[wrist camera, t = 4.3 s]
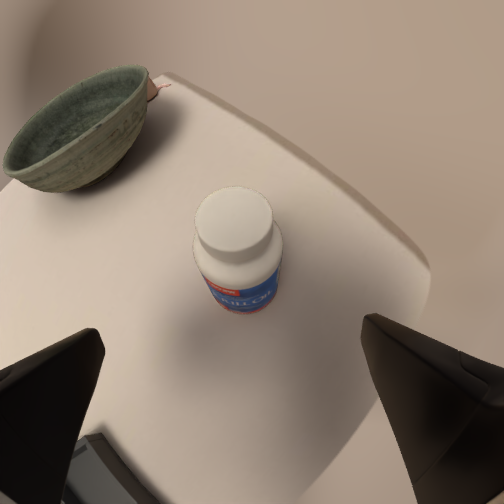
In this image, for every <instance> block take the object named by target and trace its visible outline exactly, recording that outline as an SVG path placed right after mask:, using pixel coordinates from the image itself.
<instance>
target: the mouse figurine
mask: <svg viewBox="0 0 504 504" xmlns="http://www.w3.org/2000/svg"><path fill="white" fill-rule="evenodd" d="M170 85H171V84H161V85H159V86H157V87H156V86H155V84H154V83H153V81H152V80H151V79H150V78H149V76H148V82H147V90H148V92H147V101H149V100H150V99H152V98H153V97H154V96H155V95H156V94H157V91H158V90H159V89H160V88H162V87H167V86H170Z"/></svg>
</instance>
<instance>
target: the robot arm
mask: <svg viewBox="0 0 504 504" xmlns="http://www.w3.org/2000/svg"><path fill="white" fill-rule="evenodd" d="M361 344H362V347H363V350H364V353H365V357H366V360H367V364H368V367H369V370H370V374H371V377H372V380H373V383H374V385H375V388H376V390H377V392H378V395H379V397H380V400H381V402H382V404H383V407H384V409H385V412H386V414H387V417H388V419H389V422H390V424H391V427H392V430H393V432H394V435H395V437H396V440H397V443H398V446H399V448H400V451H401V454H402V457H403V460H404V462H405V465H406V468H407V471H408V474H409V477H410V480H411V483H412V485H413V486H412V487H413V490H414V493H415V496H416V499H417V503H418V504H504V368H502V367H499V366H496V365H494V364H490V363H488V362H485V361H483V360H480V359H477V358H475V357H473V356H470V355H468V354H466V353H464V352H461V351H458V350H457V349H455V348H452V347H450V346H448V345H446V344H444V343H441V342H439V341H437V340H435V339H432V338H430V337H428V336H426V335H424V334H421V333H419V332H417V331H415V330H412V329H410V328H408V327H406V326H404V325H401V324H399V323H397V322H395V321H393V320H390V319H388V318H386V317H384V316H382V315H379V314H377V313H373V314H367V315H365V316H364V318H363V324H362V330H361ZM104 356H105V347H104V344H103V342H102V339H101V337H100V334H99V332H98V330H97V329H95V328H86V329H83V330H81V331H79V332H77V333H75V334H73V335H71V336H69V337H67V338H65V339H63V340H61V341H59V342H57V343H55V344H53V345H51V346H49V347H47V348H45V349H43V350H41V351H39V352H37V353H35V354H32V355H30V356H28V357H26V358H24V359H22V360H20V361H18V362H16V363H15V364H12V365H10V366H8V367H6V368H4V369H2V370H0V504H61V502H62V497H63V493H64V488H65V484H66V481H65V480H66V479H67V475H68V471H69V467H70V464H71V460H72V456H73V453H74V449H75V446H76V443H77V440H78V436H79V433H80V430H81V427H82V424H83V421H84V418H85V415H86V412H87V409H88V407H89V404H90V401H91V398H92V396H93V393H94V390H95V387H96V384H97V380H98V377H99V373H100V369H101V366H102V362H103V359H104Z"/></svg>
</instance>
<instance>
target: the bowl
mask: <svg viewBox="0 0 504 504" xmlns="http://www.w3.org/2000/svg"><path fill="white" fill-rule="evenodd" d="M148 75H149V73H148V71H147V69H146V68H144V67H142V66H140V65H124V66H118V67H114V68H111V69H107V70H105V71H102V72H99V73H97V74H95V75H92V76H90V77H88V78H86V79H84V80H82V81H80V82H78V83H76V84H74V85H73V86H71V87H70V88H68V89H66V90H65V91H64V92H62V93H61V94H59V95H58V96H56V97H55V98H54V99H52V100H51V101H50V102H48V103H47V104H46V105H45V106H44V107H42V108H41V109H40V110H39V111H38V112H37V113H36V114H35V115H33V116H32V117H31V118H30V119H29V121H28V122H27V123H26V124H25V125H24V126H23V128H22V129H21V130H20V131H19V133H18V134H17V135H16V136H15V138H14V139H13V141H12V142H11V144H10V146H9V147H8V150H7V152H6V154H5V156H4V159H3V169H4V172H5V174H7V175H8V176H10V177H12V178H15V179H17V180H19V181H20V182H22V183H24V184H25V185H27V186H29V187H30V188H33V189H37V190H40V191H43V192H50V193H59V192H64V191H69V190H73V189H75V188H78V187H87V186H91V185H93V184H95V183H97V182H99V181H100V180H102V179H104V178H105V177H106V176H108V175H109V174H110V173H111V172H112V171H113V170H114V169H115V168H116V167H117V166H118V165H119V164H120V162H121V161H122V159H123V158H124V156H125V154H126V152H127V151H128V149H129V148H130V147H131V146H132V144H133V143H134V141H135V139H136V138H137V136H138V135H139V133H140V131H141V128H142V125H143V123H144V120H145V117H146V111H147V92H148V90H147V82H148Z"/></svg>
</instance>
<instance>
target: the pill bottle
mask: <svg viewBox="0 0 504 504" xmlns="http://www.w3.org/2000/svg"><path fill="white" fill-rule="evenodd" d="M195 228H196V233H195V236H194V241H193V254H194V258H195V261H196V264H197V266H198V268H199V270H200V272H201V274H202V275H203V277H204V279H205V281H206V283H207V285H208V287H209V288H210V290H211V292H212V294H213V296H214V298H215V299H216V300H217V302H218V303H219V304H220V305H221V306H222V307H223V308H225V309H227V310H228V311H231V312H233V313H237V314H251V313H255V312H257V311H260V310H261V309H263V308H264V307H266V306H267V305H268V304H269V303H270V302H271V300H272V299H273V297H274V295H275V293H276V290H277V286H278V279H279V273H280V266H281V259H282V251H283V239H282V234H281V231H280V229H279V227H278V225H277V224H276V222H275V221H274V220H273V212H272V208H271V206H270V204H269V202H268V201H267V199H266V198H265V197H264V196H263V195H262V194H260V193H259V192H257V191H255V190H253V189H250V188H247V187H241V186H232V187H226V188H222V189H219V190H217V191H215V192H213V193H212V194H210V195H209V196H207V197H206V198H205V199H204V200H203V201H202V203H201V204H200V206H199V207H198V209H197V212H196V215H195Z"/></svg>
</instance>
